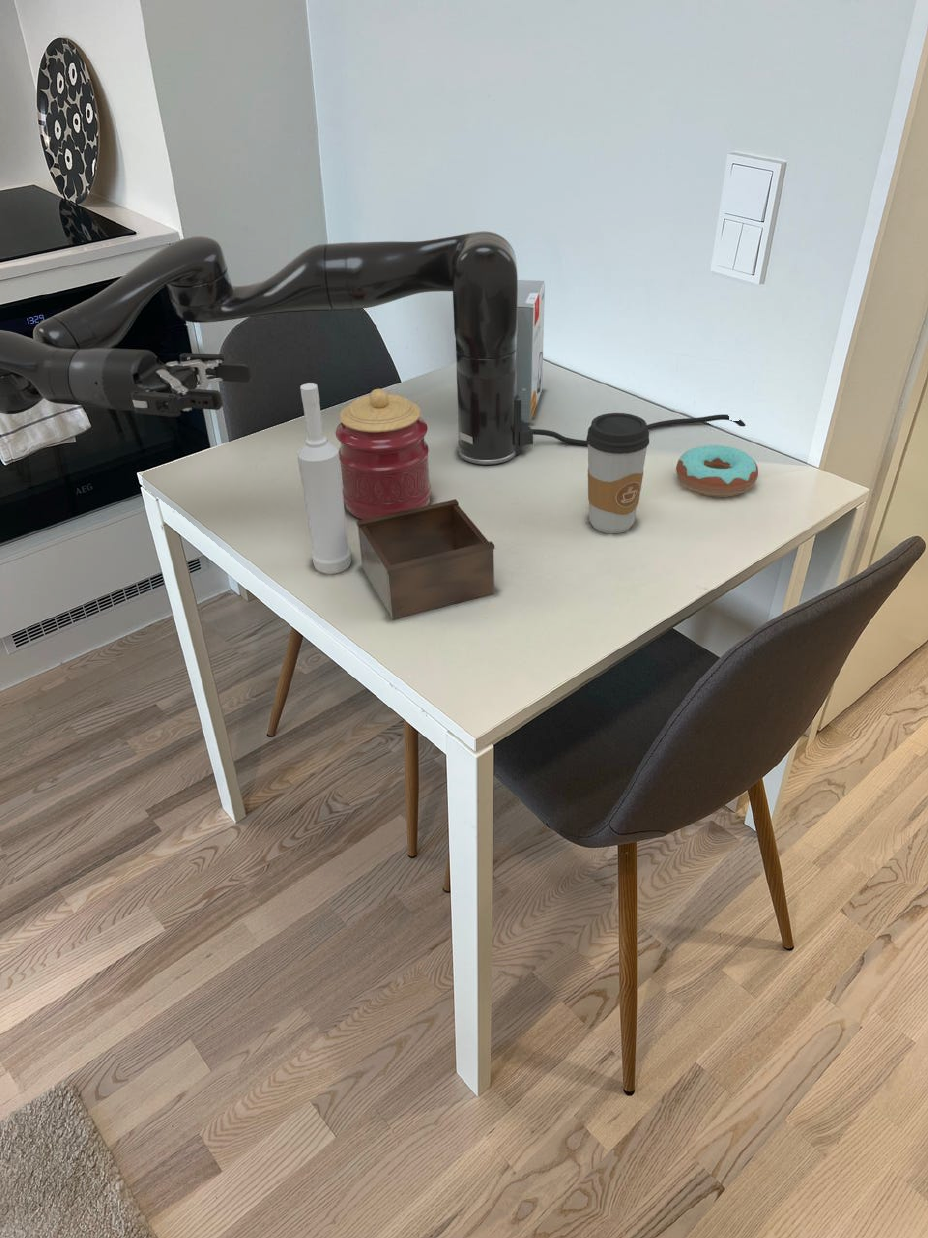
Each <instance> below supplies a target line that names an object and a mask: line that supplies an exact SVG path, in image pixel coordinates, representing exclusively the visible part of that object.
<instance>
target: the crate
mask: <svg viewBox="0 0 928 1238" xmlns="http://www.w3.org/2000/svg"><path fill="white" fill-rule="evenodd" d="M355 523H356V526H357V533H358V541H359V550H360V560H361V569H362V571H363V572H364V574H365V575H366V577H367V579H368V581H369V582H370V583H371V586H372V587H373V589H374V591H375V592H376V594H377V596H378V598H379V599H380V601H381V602H382V604H383V607H385V609H386V611H387V613H388V615H389V616H390V617H391V619H392V620H397V619H400V618H404V617H408V616H413V615H416V614H420V613H424V612H428V611H431V610H436V609H440V608H443V607H448V606H450V605H454V604H460V603H463V602H466V601H471V600H474V599H479V598H482V597H486V596H490V595H494V594H495V590H494V589H495V588H494V587H495V584H494V583H495V580H494V579H495V576H494V575H495V574H494V573H495V572H494V571H495V569H494V550H495V544H494V543H493V541H489V540H488V538H486V536H485V535H484V534H483V533H482V531H480V529H479V528H478V527H477V525H476V524H475V523H474V522H473V521H472V520H471V518H470V517H469V516H468V515H467V514H466V512H465V511H464V510H463V508H461V506H459V501H458V499H456V498H455V499H451V500H446V501H441V502H437V503H432V504H428V505H427V506H423V507H418V508H414V509H409V510H405V511H400V512H396V513H391V514H387V515H382V516H378V517H373V518H369V519H364V520H362V519H359V520H356V522H355Z"/></svg>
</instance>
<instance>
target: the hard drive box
mask: <svg viewBox="0 0 928 1238" xmlns="http://www.w3.org/2000/svg"><path fill="white" fill-rule="evenodd" d="M545 298H546V281H545V280H533V279H532V280H531V279H518V307H517V348H516V349H517V350H516V394H517V395H518V396H519V397H520V398H521V420H522V421H523V422H525V423H526V424H531V422H532V419H533V417H534V414H535V410H536V408H537V405H538V403H539V400H540V397H541V394H542V391H543V373H544V372H543V371H544V338H545V335H544V334H545V333H544V331H545V301H546V299H545Z"/></svg>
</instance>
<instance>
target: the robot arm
mask: <svg viewBox="0 0 928 1238" xmlns="http://www.w3.org/2000/svg"><path fill="white" fill-rule="evenodd" d="M516 256H517V255H516V252H515V250H514V248H513V246H512V244H511V243H510V241H509V240H507V239H506V238H505V237H504V236H502V235H500V234H498V233H496V232H492V231H486V230H485V231H484V230H483V231H474V232H469V233H463V234H457V235H451V236H446V237H441V238H435V239H427V240H417V241H399V240H398V241H397V240H396V241H395V240H391V241H389V240H388V241H387V240H385V241H349V242H335V243H320V244H315V245H312V246H310V247H308V248H307V249H304V250H303V251H302V252H300V253H299V254H298V255H297V256H295V257H294V258H293V259H292V260H290V261H289V262H288V263H286V265H284V266H283V267H282V268H281V269H279V270H278V271H277V272H276V273H274V274H273V275H270V277H268V278H266V279H265V280H261V281H259V282H255V283H252V284H246V285H233V283H232V278H231V275H230V271H229V267H228V264H227V260H226V256H225V253H224V250H223V248H222V246H221V244H220V243H219V242H218V241H217V240H215V239H214V238H211V237H208V236H204V235H203V236H201V235H195V236H188V237H184V238H181V239H178V240H176V241H174V242H171V243H170V244H168V245H166V246H164V247H163V248H160V249H159V250H158V251H157V252H155V253H154V254H152V255H151V256H150V257H148V258H147V259H145V260H144V261H142V262H141V263H139V264H138V265H136V266H134V267H133V268H132V269H130V270H129V271H127V272H126V273H125V274H124V275H122V276H120V278H118V279H117V280H115V281H114V282H113V283H112V284H110V285H108V286H107V287H105V288H104V289H103V290H101V291H100V292H98V293H97V294H94V295H93V296H91V297H89V298H88V299H86V300H84V301H82V302H80V303H78V304H76V305H74V306H72V307H70V308H68V309H65V310H63V311H61V312H59V313H56V314H55V315H53V316H51V317H48V318H46V319H45V320H43V321H41V322H39V323H38V324H36V325H35V327H34V328H33V331H32V337H33V338H32V337H29V336H26V335H23V334H20V333H17V332H13V331H8V330H2V329H0V414H4V415H17V414H22V413H24V412H26V411H29V410H31V409H32V408H33V407H35V406H36V405H38V404H39V403H40V402H41V401H43V400H44V399H45V400H46V401H48V402H49V403H53V404H57V405H70V406H85V407H92V408H97V409H102V410H114V411H115V410H117V411H130V412H135V413H136V414H140V415H151V416H158V417H159V416H160V417H169V418H177V417H180V416H181V411H183V412H189V411H192V410H193V409H197V410H213V411H220V409H222V408H223V406H224V404H223V398H222V394H221V391H219V390H217V389H206V388H208V387H209V385H210V384H212V383H217V382H224V383H225V382H227V383H241V384H242V383H244V384H247V383H249V382H251V380H252V379H253V378H252V377H253V376H252V372H251V371H252V370H251V367H250V365H249V364H248V363H237V362H236V363H233V362H225V355H224V354H222V353H192V352H191V353H189V352H188V353H187V352H184V353H183V352H182V353H180V354H179V359H180V361H178V360H174V361H168V362H166V363H164V362H162V361H161V360H160V359H159V358H158V356H157V355H156V354H155V353H154V352H152V351H151V350H148V349H134V348H133V349H132V348H131V349H130V348H115V347H116V346H117V345H118V344H120V342H121V341H122V340H123V339H124V338H125V335H127V333H128V331H129V330H130V329H131V327H132V326H133V324H134V323H135V321H136V319H137V317H138V316H139V315H140V314H141V312H142V310H143V309H144V307H145V306H146V305H147V303H148V302H149V301H150V300H151V299H152V297H153V296H154V295H155V294H157V293H158V292H159V291H160V290H161V289H163V288H164V287H167V288H166V289H167V291H168V294H169V298H170V301H171V305H172V307H173V310H174V312H175V314H176V316H177V317H178V318H179V319H181V320H182V321H185V322H187V323H195V324H208V323H219V322H225V321H234V320H238V319H239V320H240V319H244V318H245V319H246V318H252V317H258V316H266V315H274V314H286V313H287V314H288V313H303V312H304V313H305V312H326V311H327V312H336V311H337V312H338V311H351V310H362V309H363V310H364V309H369V308H373V307H378V306H381V305H385V304H388V303H392V302H395V301H398V300H401V299H403V298H407V297H411V296H413V295H418V294H424V293H432V292H452V305H453V306H452V309H453V330H454V331H453V333H454V340H455V341H454V342H455V365H456V366H455V367H456V396H457V397H456V398H457V421H458V422H457V427H458V429H457V430H458V455H459V457H460V459H462V460H464V461H465V462H469V463H471V464H475V465H484V466H485V465H498V464H501V463H506V462H508V461H510V460H512V459H513V458H514V457H515V456H519V455H522V447H525V446H531V445H533V444H534V436H545V437H550V438H554V439H555V440H557V441H559V442H562V443H564V444H567V445H574V446H581V447H588V443H587V441H586V440H583V439H577V438H570V437H566V436H564V435H562V434H560V433H558V432H556V431H553V430H548V429H539V428H531V427H530V426H529V425H528V423H525V422H523V421H522V420H521V398H520V397H519V396H518V395H517V394H516V350H517V349H516V348H517V307H518V280H519V276H518V275H519V273H518V264H517V263H518V262H517V257H516ZM197 376H198V377H199V380H198V381H197ZM163 404H165V405H167V407H164V405H163ZM728 415H729V414H714V415H707V416H700V417H688V418H687V417H686V418H674V419H668V420H667V419H666V420H661V421H656V422H653V423H649V424H647V429H648V431H650V430H651V431H652V430H653V429H657V428H663V427H667V426H675V425H686V424H687V425H689V424H700V423H708V422H714V421H724V420H725V421H730V422H733V423H735V424H736V425H737V426H739V427H746V426H747V425H746V423H745V422H744V421H743V420H742V419H740V420H739V421H732V420H729V416H728Z"/></svg>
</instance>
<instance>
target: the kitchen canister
mask: <svg viewBox="0 0 928 1238" xmlns="http://www.w3.org/2000/svg"><path fill="white" fill-rule="evenodd" d="M421 413H422V412H421V408H420V406H418V404H416V403H415V402H413V401H411V400H408V399H407V398H405V397H404V396H402V395H398V394H393V393H388V392H387V391H386V390H385V389H383V388H375V389H373V390H372V391H371V392H370V393H369V394H368V395H364V396H361V397H359V398H357V399H355V400H353V401H351V403H350V404H348V405H347V406H345V407H344V408H343V409H342V410H341V411H340V413H339V420H340V423H339V424H338V425H337V427H336V429H335V438H336V439H337V441H338V442H340V447H339V448H338V450H339V459H340V469H341V480H342V490H343V500H344V505H345V507H346V511H348V513H349V514H351V515H352V516H353V517H355V518H357V519H359V520H364V519H369V518H373V517H378V516H382V515H387V514H391V513H396V512H400V511H405V510H409V509H414V508H418V507H423V506H427V505H430V500H431V495H432V490H431V489H432V485H431V482H430V469H429V468H430V467H429V449H430V448H429V445H428V443H427V441H426V440H425V436H426V434H427V433H428V427H429V426H428V424H427V422H426V420H425V419H424V418H423V417H421Z"/></svg>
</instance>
